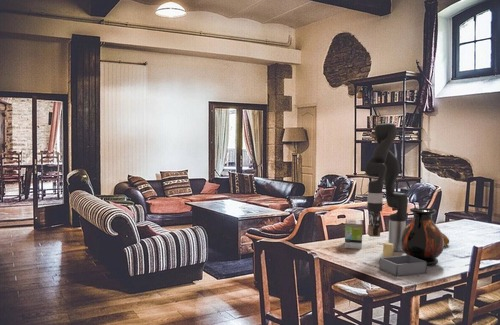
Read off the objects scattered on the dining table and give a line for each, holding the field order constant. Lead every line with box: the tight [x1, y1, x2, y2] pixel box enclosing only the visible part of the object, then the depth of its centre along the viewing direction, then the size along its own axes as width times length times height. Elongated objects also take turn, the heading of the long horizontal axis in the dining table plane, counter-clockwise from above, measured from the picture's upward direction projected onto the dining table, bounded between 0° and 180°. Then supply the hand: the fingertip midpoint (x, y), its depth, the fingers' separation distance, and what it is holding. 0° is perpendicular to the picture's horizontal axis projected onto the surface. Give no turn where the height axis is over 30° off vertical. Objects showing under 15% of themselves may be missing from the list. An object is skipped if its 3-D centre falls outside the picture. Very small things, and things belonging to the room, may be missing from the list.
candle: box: [382, 242, 394, 257], centre depth 242 cm, size 5×5×10 cm
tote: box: [378, 254, 428, 277], centre depth 228 cm, size 17×13×6 cm
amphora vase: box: [401, 207, 445, 267], centre depth 244 cm, size 22×22×28 cm
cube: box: [367, 224, 381, 238], centre depth 240 cm, size 5×5×5 cm
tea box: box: [344, 219, 364, 250], centre depth 280 cm, size 15×10×15 cm
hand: (374, 234), depth 240 cm, fingers closed on cube, 5 cm apart
